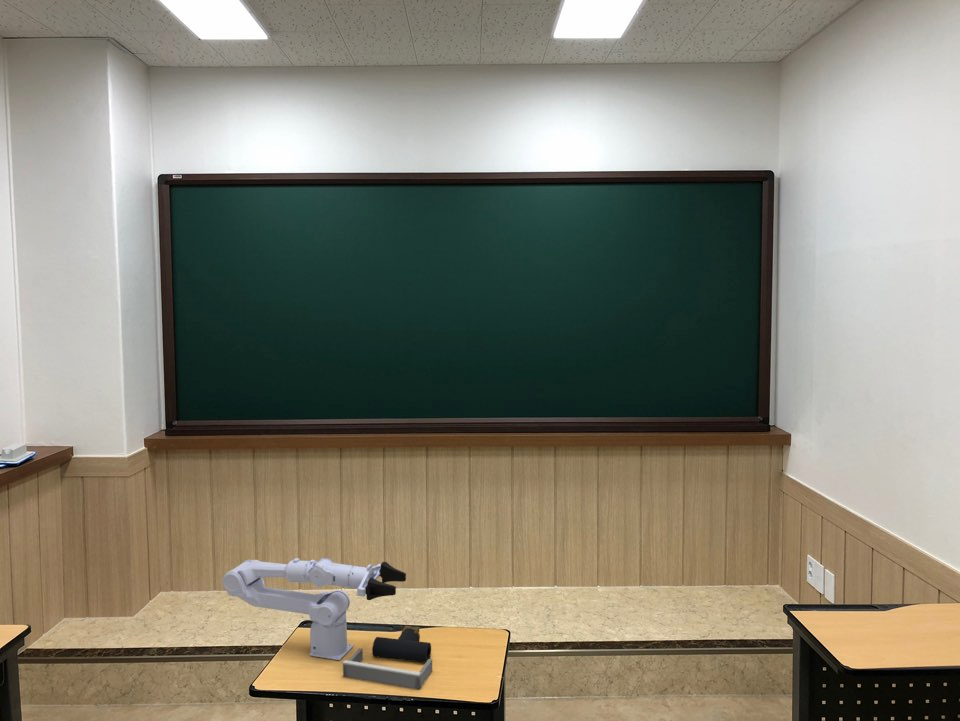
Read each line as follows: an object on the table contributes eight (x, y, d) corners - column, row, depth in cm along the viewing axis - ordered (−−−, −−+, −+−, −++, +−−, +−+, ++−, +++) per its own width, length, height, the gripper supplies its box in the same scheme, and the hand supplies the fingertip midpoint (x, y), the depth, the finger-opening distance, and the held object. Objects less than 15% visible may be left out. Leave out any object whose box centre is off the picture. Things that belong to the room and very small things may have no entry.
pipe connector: (387, 621, 191) (437, 626, 187) (387, 639, 191) (438, 644, 188) (372, 642, 180) (425, 648, 176) (372, 660, 180) (425, 667, 177)
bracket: (343, 676, 171) (342, 662, 171) (359, 658, 180) (359, 644, 180) (419, 689, 165) (418, 674, 165) (432, 670, 174) (432, 656, 174)
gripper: (341, 575, 173) (390, 582, 170) (363, 551, 187) (409, 557, 184) (341, 600, 174) (390, 608, 171) (363, 575, 188) (409, 581, 185)
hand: (400, 583), depth 178 cm, fingers open, 7 cm apart
